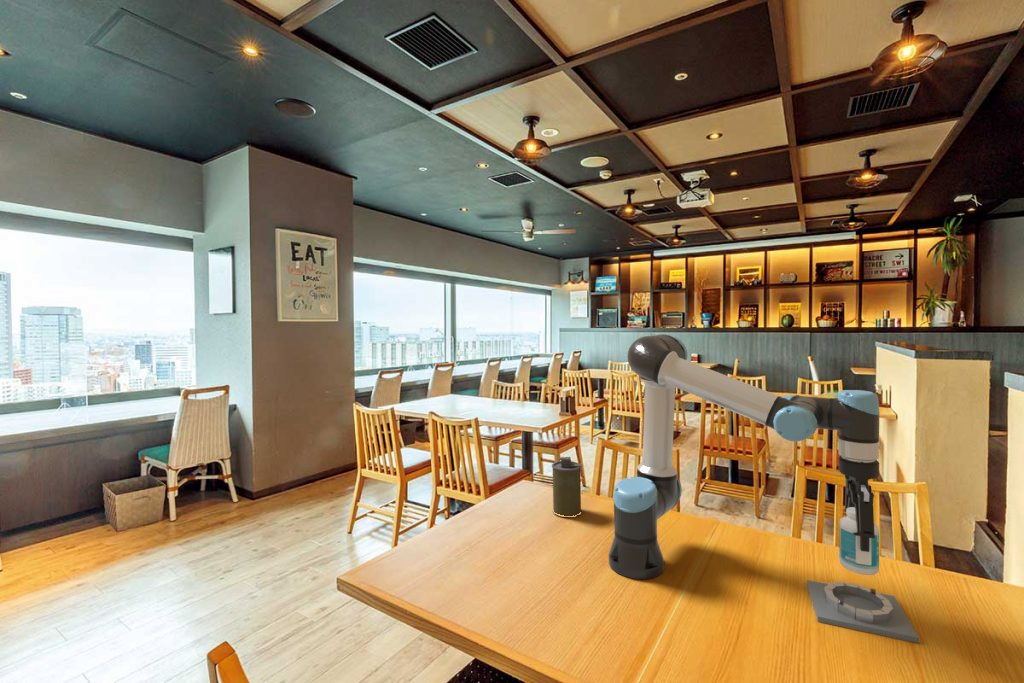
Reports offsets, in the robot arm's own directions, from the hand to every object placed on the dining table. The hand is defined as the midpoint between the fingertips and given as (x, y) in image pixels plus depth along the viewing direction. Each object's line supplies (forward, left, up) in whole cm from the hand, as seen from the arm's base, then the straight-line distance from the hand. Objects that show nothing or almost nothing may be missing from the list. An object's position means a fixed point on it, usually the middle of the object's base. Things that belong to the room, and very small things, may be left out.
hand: (858, 554), depth 107 cm
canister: (-80, +28, -14) cm, 86 cm away
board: (0, 0, -14) cm, 14 cm away
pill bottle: (0, 0, -3) cm, 3 cm away
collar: (0, 0, -12) cm, 12 cm away
